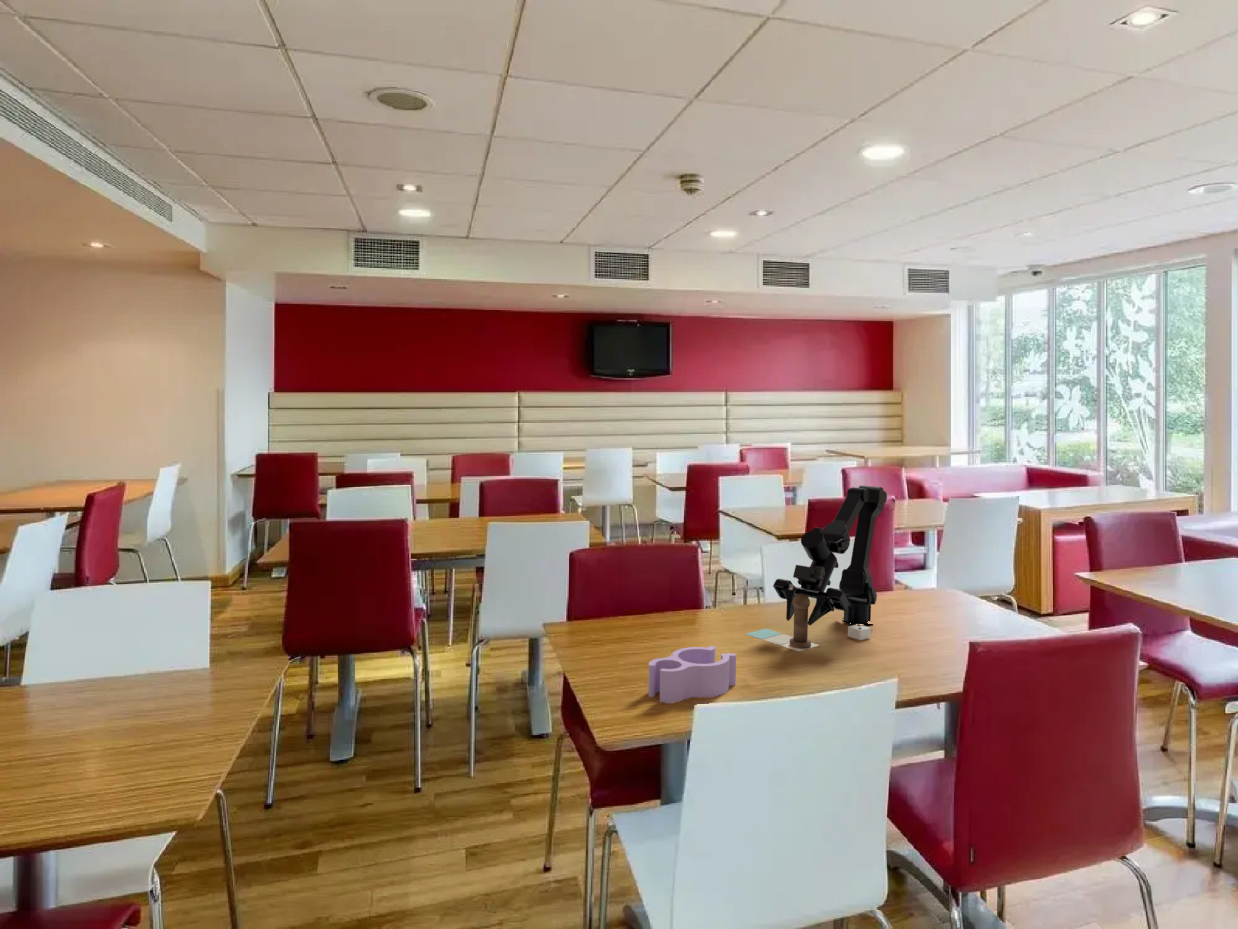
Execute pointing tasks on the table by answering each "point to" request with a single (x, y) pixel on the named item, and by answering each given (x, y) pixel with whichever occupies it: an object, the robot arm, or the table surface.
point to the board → (776, 638)
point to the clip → (691, 674)
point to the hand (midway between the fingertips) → (798, 622)
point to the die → (859, 632)
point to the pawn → (800, 622)
